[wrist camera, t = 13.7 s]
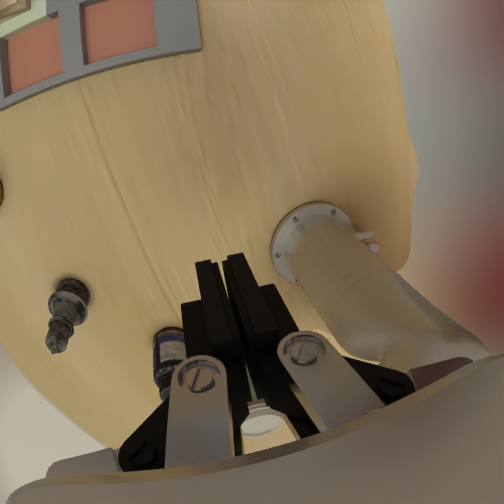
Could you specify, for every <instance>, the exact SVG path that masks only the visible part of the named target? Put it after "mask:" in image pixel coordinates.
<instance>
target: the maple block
mask: <svg viewBox="0 0 504 504" xmlns="http://www.w3.org/2000/svg"><path fill="white" fill-rule="evenodd" d="M29 10H31V0H0V25H1V24H3V23H5V22H6V21H8V20H10V19H12V18H14V17H16V16H18V15H20V14H22V13H24V12H27V11H29Z"/></svg>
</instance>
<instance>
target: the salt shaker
mask: <svg viewBox="0 0 504 504" xmlns="http://www.w3.org/2000/svg"><path fill="white" fill-rule="evenodd" d="M89 300H90V294H89V290H88V289H87V287H86V286H85V285H84V284H83V283H82V282H80V281H79V280H76V279H72V278H67V279H64V280H62V281H61V282H59V284H58V286H57V289H56V292H55V293H53V294H52V295H51V296H50V298H49V301H48V308H49V310H50V313H51V314H52V316H53V317H52V318H51V319H50V320H49V323H48V326H49V331H48V333H47V336H46V341H45V342H46V345H47V347H48V349H49V350H51V353H52V354H55V353H61V352H63V351H65V349H66V347H67V344H68V340H69V338H70V337H71V336H72V335H73V333H74V328H73V326H77V325H80V324H82V323H83V322H84V321H85V320H86V318H87V314H88V313H87V307H86V306H87V304H88V303H89Z"/></svg>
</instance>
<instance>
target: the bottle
mask: <svg viewBox="0 0 504 504" xmlns="http://www.w3.org/2000/svg"><path fill="white" fill-rule="evenodd" d="M1 201H2V189H1V184H0V205H1Z"/></svg>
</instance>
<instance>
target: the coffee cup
mask: <svg viewBox="0 0 504 504" xmlns="http://www.w3.org/2000/svg"><path fill="white" fill-rule="evenodd" d="M246 370H247V375H248V380H249V385H250V390H251V395H252V402H248V403H247V404H248V408H249V413H250V414H249V415H248V417H247V418H246V419H245V421H244V422H243V424H242V425H241V427H242V432H243V437H246V438H256V437H261V436H265V435H268V434H270V433H272V432H274V431H275V430H277V429H278V428H279V427H280V426H281V424H282V417H283V416H282V414H281V412H278V411H276V410H273V409H271V408H270V406H269V407H266V404H265V401H264V399H260V400H258V399H257V397H256V394H255V391H254V388H253V385H252V382H251V379H250V375H249V372H248V369H247V366H246Z"/></svg>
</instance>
